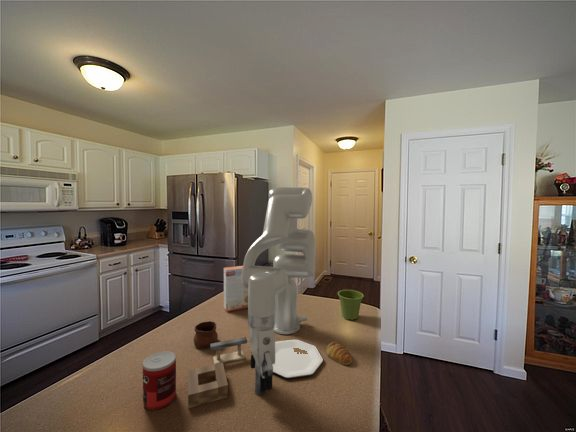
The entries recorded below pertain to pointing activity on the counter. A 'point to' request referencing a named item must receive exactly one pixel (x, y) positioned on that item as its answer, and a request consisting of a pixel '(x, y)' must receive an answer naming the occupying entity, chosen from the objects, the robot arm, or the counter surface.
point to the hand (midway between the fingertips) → (260, 377)
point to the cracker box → (234, 289)
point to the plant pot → (350, 303)
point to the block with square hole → (206, 385)
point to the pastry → (339, 353)
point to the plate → (295, 359)
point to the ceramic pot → (205, 334)
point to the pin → (258, 378)
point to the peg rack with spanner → (229, 356)
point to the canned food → (159, 380)
